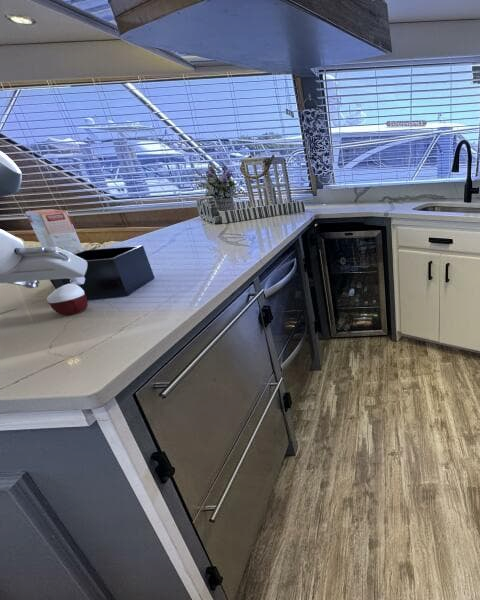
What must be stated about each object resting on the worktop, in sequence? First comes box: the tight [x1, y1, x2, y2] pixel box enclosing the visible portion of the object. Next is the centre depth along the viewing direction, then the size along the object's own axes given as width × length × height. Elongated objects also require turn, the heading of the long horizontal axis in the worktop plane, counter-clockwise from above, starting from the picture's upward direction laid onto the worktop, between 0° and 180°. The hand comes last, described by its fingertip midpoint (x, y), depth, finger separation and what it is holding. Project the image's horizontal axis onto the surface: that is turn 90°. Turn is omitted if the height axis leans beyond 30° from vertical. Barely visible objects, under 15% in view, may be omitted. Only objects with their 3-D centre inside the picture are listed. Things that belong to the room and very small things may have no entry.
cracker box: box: [25, 208, 85, 254], centre depth 92 cm, size 14×6×21 cm, turn 58°
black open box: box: [61, 245, 156, 301], centre depth 87 cm, size 15×15×10 cm
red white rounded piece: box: [46, 279, 89, 316], centre depth 73 cm, size 10×6×12 cm, turn 35°
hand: (58, 283), depth 72 cm, fingers open, 8 cm apart
